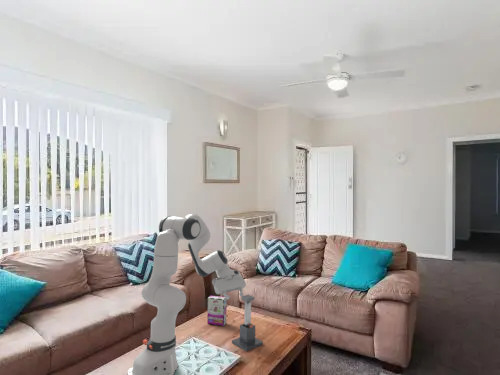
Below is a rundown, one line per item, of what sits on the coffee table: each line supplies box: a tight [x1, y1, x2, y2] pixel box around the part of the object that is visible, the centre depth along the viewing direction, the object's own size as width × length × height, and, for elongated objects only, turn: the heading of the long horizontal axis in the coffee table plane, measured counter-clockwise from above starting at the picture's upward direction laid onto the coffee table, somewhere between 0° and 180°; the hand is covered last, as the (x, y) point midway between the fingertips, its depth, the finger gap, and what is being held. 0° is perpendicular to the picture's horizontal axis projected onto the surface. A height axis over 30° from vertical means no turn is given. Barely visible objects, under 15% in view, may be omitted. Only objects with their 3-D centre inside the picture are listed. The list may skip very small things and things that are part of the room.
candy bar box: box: [206, 295, 228, 327], centre depth 202 cm, size 11×5×16 cm, turn 73°
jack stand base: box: [231, 323, 264, 352], centre depth 177 cm, size 12×12×11 cm
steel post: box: [241, 294, 255, 328], centre depth 177 cm, size 5×5×24 cm
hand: (235, 297), depth 185 cm, fingers open, 8 cm apart
